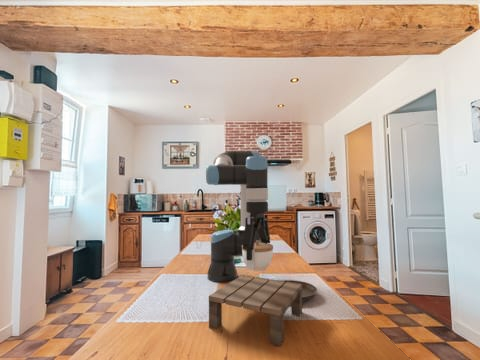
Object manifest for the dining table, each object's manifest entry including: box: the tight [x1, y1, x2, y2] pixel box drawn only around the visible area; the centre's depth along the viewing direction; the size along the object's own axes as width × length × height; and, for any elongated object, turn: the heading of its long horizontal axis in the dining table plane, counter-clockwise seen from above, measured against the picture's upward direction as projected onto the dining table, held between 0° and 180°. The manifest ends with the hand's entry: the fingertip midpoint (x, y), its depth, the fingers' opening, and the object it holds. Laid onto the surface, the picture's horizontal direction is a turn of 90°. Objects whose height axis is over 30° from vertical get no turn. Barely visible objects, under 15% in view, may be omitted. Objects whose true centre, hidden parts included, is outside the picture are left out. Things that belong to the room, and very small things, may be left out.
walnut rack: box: [208, 274, 303, 347], centre depth 92 cm, size 24×24×10 cm
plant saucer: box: [283, 279, 318, 303], centre depth 113 cm, size 21×21×3 cm
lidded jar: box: [242, 240, 274, 272], centre depth 93 cm, size 11×11×9 cm
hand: (257, 265), depth 92 cm, fingers closed on lidded jar, 11 cm apart
